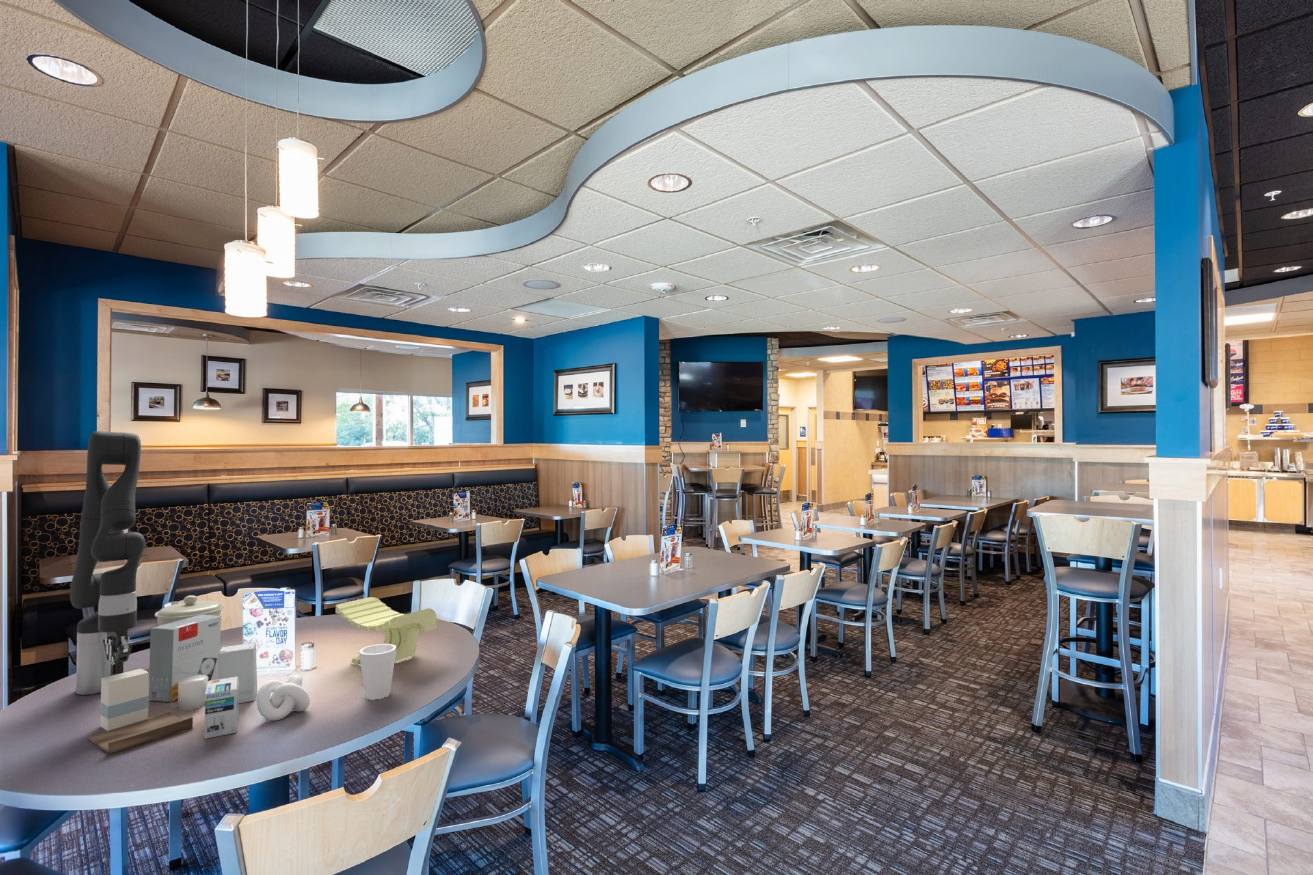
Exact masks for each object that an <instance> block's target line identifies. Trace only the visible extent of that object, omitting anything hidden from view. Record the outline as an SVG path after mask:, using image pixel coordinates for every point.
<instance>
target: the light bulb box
mask: <svg viewBox="0 0 1313 875" xmlns="http://www.w3.org/2000/svg"><path fill="white" fill-rule="evenodd" d="M238 701H239V677H232V678H225V679H219V680H211V681H208V683H207V687H206V692H205V705H204V740H206V739H211V738H216V737H220V736H225V735H231V734H235V733H238V727H239V726H238V725H239V704H240V703H239V702H238Z"/></svg>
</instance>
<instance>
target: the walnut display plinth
mask: <svg viewBox="0 0 1313 875" xmlns="http://www.w3.org/2000/svg"><path fill="white" fill-rule="evenodd" d="M193 720H194V719H193V717H192V716H188V717H186V718H180V717H179V716H176V715H175V714H172V713H171V712H166V713H163V714H159V715H157V716H153V717H150V718H149V717H148V719H146V720H143V721H139V722H136V723H133V724H129V725H126V726H122V727H119V728H116V729H112V730H109V731H107V730H105V731H102V732H99V733H97V734H94V735H93V734H91V735H89V736H88V741H90V742H92V743H93V744H94V745H95V746H97V747H99V749H101V750H103V752H105V753H107V754H108V755H114V754H117V753H120V752H123V751H125V750H129V749H131V748H135V747H139V746H142V745H144V744H147V743H150V742H151V743H152V742H154V741H156V740H159V739H163V738H166V737H170V736H172V735H176V734H178V733H182V732H185V731H187V730H190V729H193V725H194V723H193Z"/></svg>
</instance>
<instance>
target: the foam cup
mask: <svg viewBox="0 0 1313 875" xmlns="http://www.w3.org/2000/svg"><path fill="white" fill-rule="evenodd" d="M358 656H359V660H360V663H361V666H360V668H361V678H362V684H363V690H364V696H365V697H364V698H365V699H366V700H368V699H369V701H376V700H375V699H379V700H382V698H383V699H385V698H384V697H386V698H387V697H389V696H390V694H391V690H392V689H391V688H392V682H393V676H394V675H393V674H394V666H395V665H394V662H395V656H396V646H395V645H392V644H383V643H379V644H378V643H377V644H371V645H367V646H365V647H362V648H360V650H359V652H358ZM388 695H389V696H388Z"/></svg>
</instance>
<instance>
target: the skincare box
mask: <svg viewBox="0 0 1313 875" xmlns="http://www.w3.org/2000/svg"><path fill="white" fill-rule="evenodd" d="M256 644H257V643H256V642H249V643H243V644H237V645H230V646H222V647H221V648H220V652H219V654H218V664H219V679H225V678H232V677H239V701H238V702H239V704H242V703H249V702H255V699H256V698H257V694H258V673H257V671H258V669H257V667H258V666H257V645H256Z"/></svg>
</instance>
